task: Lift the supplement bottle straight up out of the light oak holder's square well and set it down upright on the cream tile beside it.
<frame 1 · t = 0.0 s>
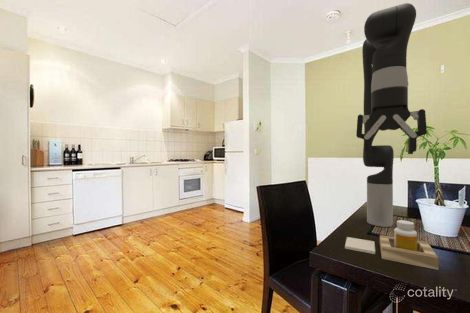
hand: (388, 154, 56), 29 cm above the table, tool pointing down, fingers open, 8 cm apart
oak holder: (405, 255, 65), on the table
supplement bottle: (405, 256, 65), resting in oak holder
cream tile: (360, 246, 71), on the table
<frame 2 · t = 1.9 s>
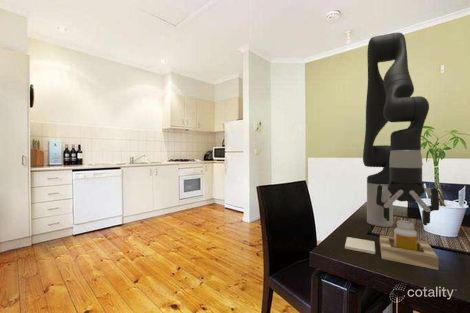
hand: (405, 222, 64), 10 cm above the table, tool pointing down, fingers open, 8 cm apart
nothing on the table moved.
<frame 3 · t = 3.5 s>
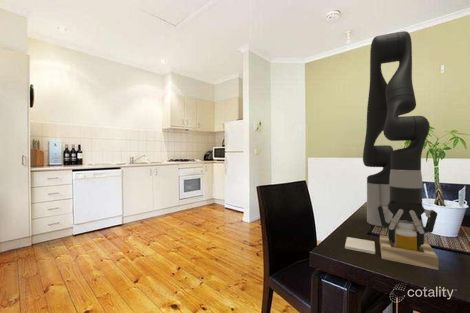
hand: (405, 243, 65), 3 cm above the table, tool pointing down, fingers closed on supplement bottle, 5 cm apart
supplement bottle: (405, 256, 65), resting in oak holder, touching gripper
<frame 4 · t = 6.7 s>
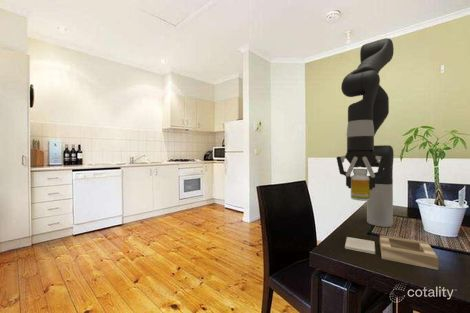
hand: (360, 188, 71), 18 cm above the table, tool pointing down, fingers closed on supplement bottle, 5 cm apart
supplement bottle: (360, 200, 71), point 15 cm above the table, touching gripper
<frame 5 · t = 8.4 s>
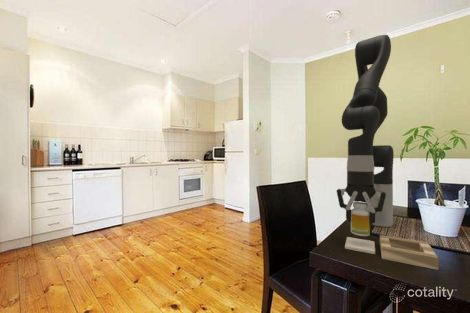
hand: (360, 222, 71), 8 cm above the table, tool pointing down, fingers closed on supplement bottle, 5 cm apart
supplement bottle: (360, 234, 71), point 4 cm above the table, touching gripper
when the fingers open (6 cm above the table, at t = 9.8 s): supplement bottle drops 1 cm, resting on cream tile.
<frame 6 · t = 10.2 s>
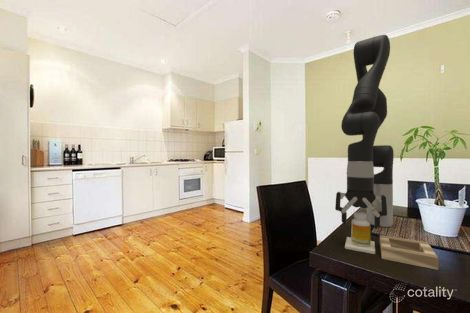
hand: (360, 226, 71), 6 cm above the table, tool pointing down, fingers open, 8 cm apart
supplement bottle: (360, 244, 71), point 1 cm above the table, touching cream tile
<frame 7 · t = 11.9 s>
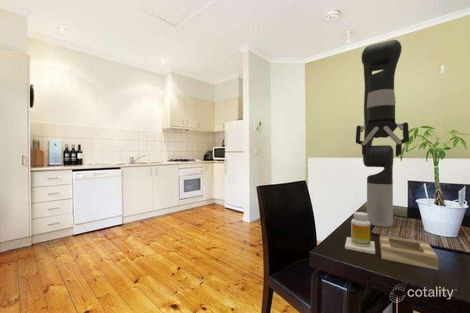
hand: (380, 156, 72), 29 cm above the table, tool pointing down, fingers open, 8 cm apart
nothing on the table moved.
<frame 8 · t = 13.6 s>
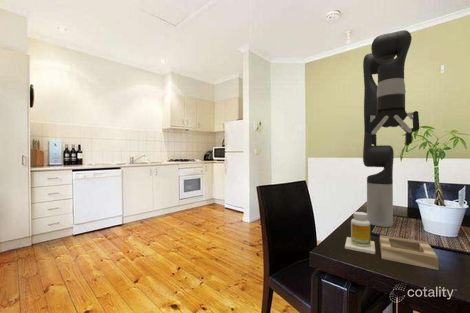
hand: (390, 145, 72), 32 cm above the table, tool pointing down, fingers open, 8 cm apart
nothing on the table moved.
at the end: supplement bottle inside the target area on the cream tile (0.2 cm from its centre), point 0.6 cm above the cream tile's base; supplement bottle tilted 1°; the gripper is holding nothing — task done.
